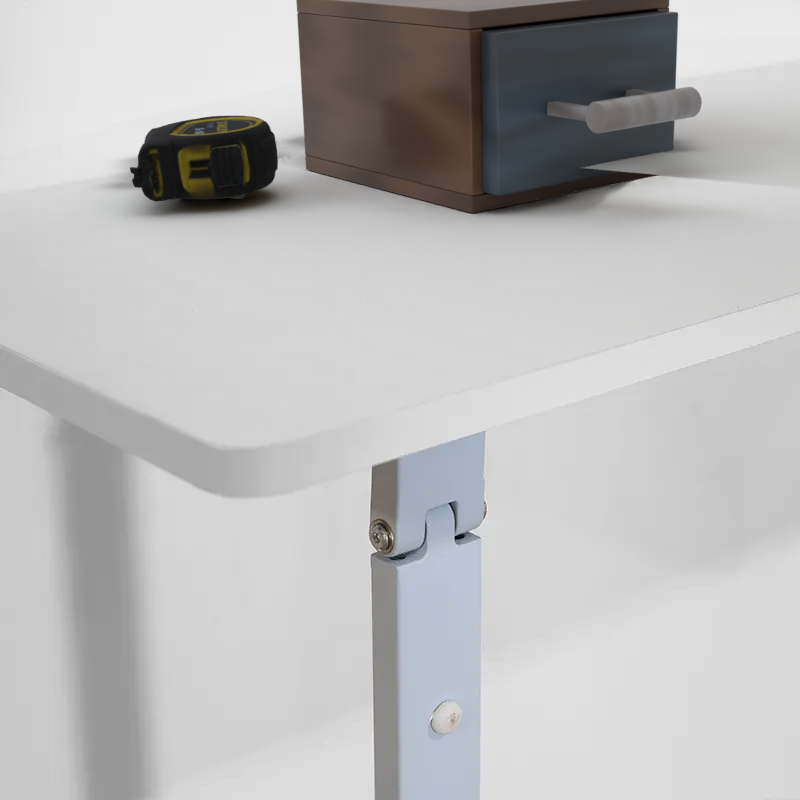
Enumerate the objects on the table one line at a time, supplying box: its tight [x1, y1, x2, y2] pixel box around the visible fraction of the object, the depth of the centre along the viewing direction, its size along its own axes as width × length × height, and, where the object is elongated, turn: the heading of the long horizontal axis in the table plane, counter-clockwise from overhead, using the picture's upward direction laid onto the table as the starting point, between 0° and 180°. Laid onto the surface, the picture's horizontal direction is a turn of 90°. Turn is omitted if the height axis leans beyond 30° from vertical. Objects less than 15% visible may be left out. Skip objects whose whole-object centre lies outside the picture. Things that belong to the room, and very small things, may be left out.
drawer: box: [481, 10, 703, 196], centre depth 69 cm, size 18×11×7 cm, turn 36°
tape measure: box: [129, 115, 279, 203], centre depth 69 cm, size 7×7×4 cm
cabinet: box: [295, 0, 670, 214], centre depth 72 cm, size 15×13×9 cm
